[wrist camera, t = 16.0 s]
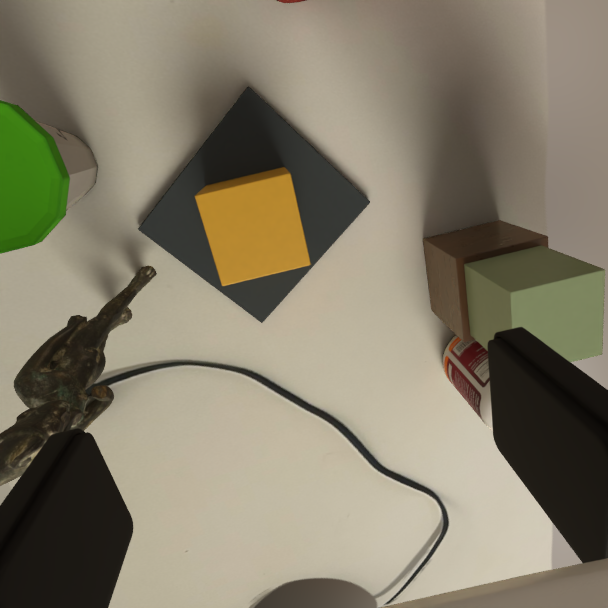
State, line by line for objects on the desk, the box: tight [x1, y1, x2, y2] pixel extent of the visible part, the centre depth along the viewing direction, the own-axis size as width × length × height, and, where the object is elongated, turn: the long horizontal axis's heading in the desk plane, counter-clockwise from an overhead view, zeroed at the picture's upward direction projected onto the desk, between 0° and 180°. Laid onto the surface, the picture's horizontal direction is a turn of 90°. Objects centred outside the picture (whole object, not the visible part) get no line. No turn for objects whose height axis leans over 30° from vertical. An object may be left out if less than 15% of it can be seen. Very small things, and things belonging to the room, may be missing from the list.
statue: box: [0, 266, 157, 486], centre depth 26 cm, size 5×6×20 cm
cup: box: [0, 100, 98, 254], centre depth 25 cm, size 8×8×15 cm
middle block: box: [464, 246, 605, 362], centre depth 28 cm, size 6×6×6 cm
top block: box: [195, 167, 311, 286], centre depth 31 cm, size 6×6×6 cm
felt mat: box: [138, 87, 370, 323], centre depth 34 cm, size 13×12×1 cm
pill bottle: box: [443, 335, 493, 431], centre depth 35 cm, size 6×6×11 cm
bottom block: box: [423, 220, 548, 342], centre depth 34 cm, size 6×6×6 cm
